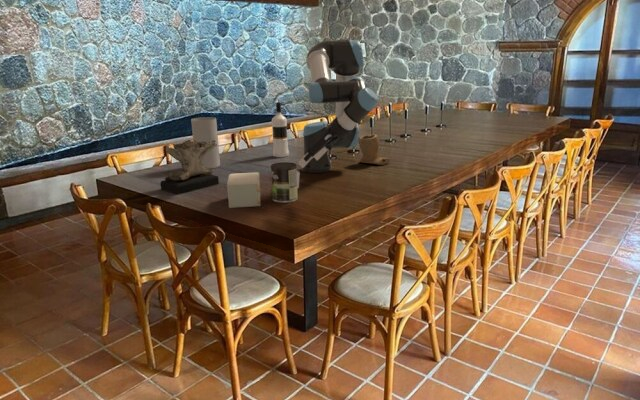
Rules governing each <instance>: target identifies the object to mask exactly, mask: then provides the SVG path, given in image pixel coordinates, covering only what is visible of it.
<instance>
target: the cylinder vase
mask: <svg viewBox="0 0 640 400" xmlns="http://www.w3.org/2000/svg"><path fill="white" fill-rule="evenodd" d="M190 121H191V123H190V124H191V131H192V132H191V133H192V139H193V141H192V142H194V140H196V141H197V142H202V141H204V142H207V143H208V142H210V143H211V142H212V141H213V140H215V141H216V144H217V146H216V147H214V148H213V149H211V150H210V151H209V152H207V153H206V154H205V156H204V157H203V158H202V161H201V165H204V166H205V167H206V168H211V169H212V170H213V169H217V168H219V167H220V166H221V160H220V159H221V158H220V147H219V138H218V137H219V136H218V124H217V123H218V122H217V117H209V116H207V117H204V116H203V117H195V118H191V119H190Z"/></svg>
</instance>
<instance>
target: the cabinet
mask: <svg viewBox="0 0 640 400" xmlns="http://www.w3.org/2000/svg"><path fill="white" fill-rule="evenodd" d="M226 185H227V198H228V208H229V209H234V208H249V207H250V208H251V207H261V186H260V172H257V171H256V172H242V173H241V172H240V173H229V175H228V178H227V183H226Z"/></svg>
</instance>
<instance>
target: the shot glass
mask: <svg viewBox="0 0 640 400" xmlns="http://www.w3.org/2000/svg"><path fill="white" fill-rule="evenodd" d="M296 171H297V189H299V188H300V175H301V173H300V171H299V170H296Z"/></svg>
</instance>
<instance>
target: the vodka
mask: <svg viewBox="0 0 640 400" xmlns="http://www.w3.org/2000/svg"><path fill="white" fill-rule="evenodd" d="M275 108H276V109H275V110H276V111H275V112H276V114H275V115H274V116H273V117H272V118H271V124H272V125H271V127H272V143H273V145H272V146H273V149H272V156H273V157H274V158H282V159H283V158H287V157H289V155H290V151H289V145H288V139H289V138H288V124H287V123H288V120H287V117H285V116H284V115H283V114H282V107H281V102H275Z"/></svg>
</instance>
